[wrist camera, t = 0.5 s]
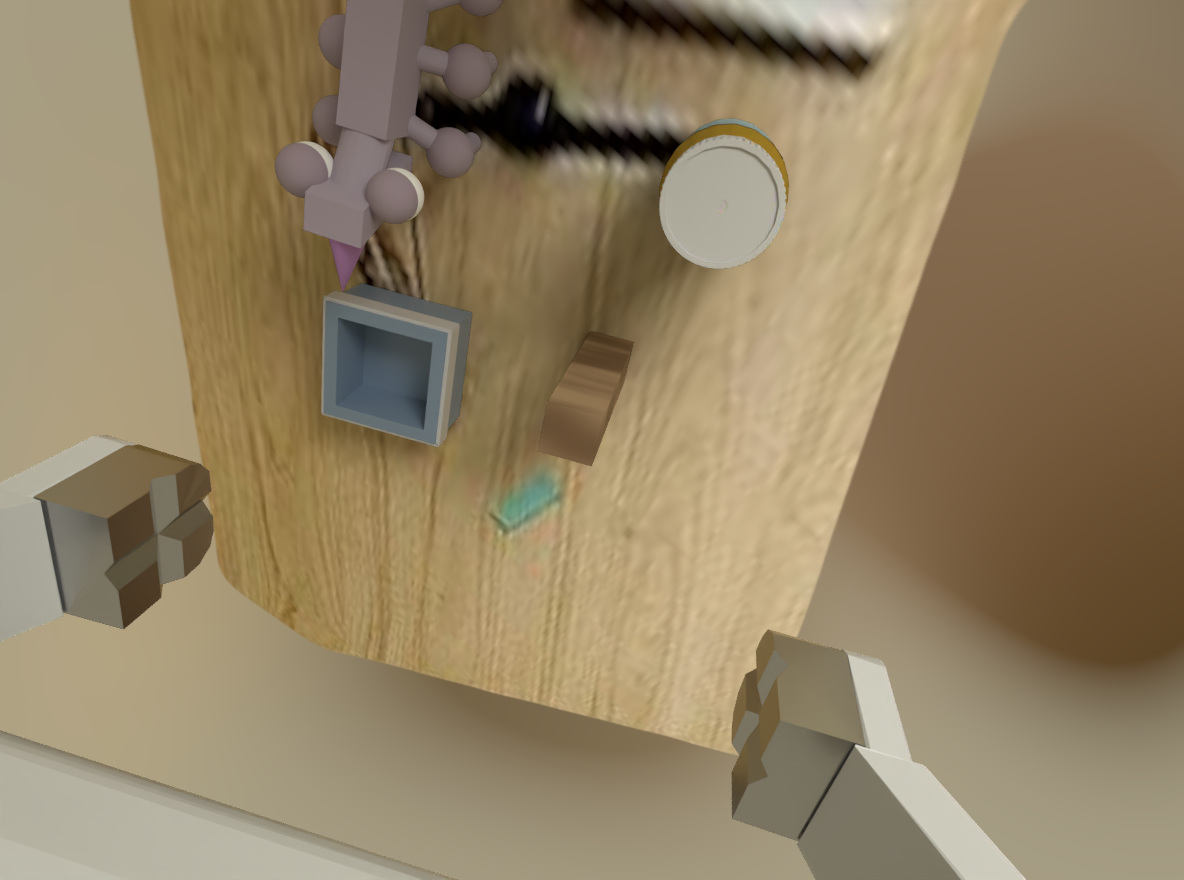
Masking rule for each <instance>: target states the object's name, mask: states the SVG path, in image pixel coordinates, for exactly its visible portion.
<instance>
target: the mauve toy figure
mask: <svg viewBox="0 0 1184 880" xmlns="http://www.w3.org/2000/svg"><path fill="white" fill-rule="evenodd" d="M501 3H502V0H347V8H346V15H344V14H336V15H333V16H330V17H329V18H327V19H326V20H325V21H324V22H323V23H322V25H321V27H320V30H319V35H318V40H319V46H320V49H321V51H322V53H323V55H324V57H325V58H326V60H327V61H328V62H329V63H330V64H332V65H333V66H334V67H336V68H338V69H341V73H340V84H339V95H329V96H326V97H323V98H322V99H320V100H319V101H318V102H317V103H316V105H315V107H314V109H313V114H312V121H313V125H314V128H315V130H316V132H317V133H318V135H319V136H320V137H321V138H322V139H323V140H324V141H325V142H327V143H329V144H331V145H334V146H338V147H337V150H336V154H335V157H334V160H333V158H332V156H331V155H330V154H329V152H328V151H327V150H326V149H324V148H323V147H322V146H320V145H318V144H316V143H313V142H308V141H301V142H297V143H292V144H289V145H287V146H285V147H284V148H283V149H282V150H281V151H280V152H279V154H278V155H277V158H276V161H275V172H276V175H277V178H278V180H279V182H280V184H281V185H282V186H283V187H284V188H285V189H286V190H287V191H288V192H289V193H291V194H293V195H295V196H297V197H301V198H305V206H304V230H305V231H308V232H311V233H314V234H317V235H320V236H323V237H327V238H329V240H330V244H331V248H332V252H333V256H334V260H335V264H336V268H337V272H338V276H339V280H340V284H341V288H342V292H343V291H344V289H345V287H346V285H347V282H348V280H349V278H350V276H351V274H352V272H353V270H354V267H355V265H356V263H357V261H358V259H359V257H360V254H361V252H362V250H363V248H364V246H365V244H366V242H367V240H368V239H369V238H370V237H371V236H372V235H373V233H374V232H375V231H376V230H377V229H378V228H379V226H380V225H381V224H382V223H383V222H384V221H385V222H387V223H391V224H399V223H403V222H406V221H408V220H411V219H413V218H414V217H415V216H417V215H418V214H419V212H420V211H421V209H422V207H423V203H424V191H423V188H422V185H421V183H420V181H419V180H418V179H417V178H416V177H415V175H413V174H412V173H411V172H412V163H413V157H412V156H409V155H406V154H403V153H399V152H396V151H393V150H392V149H393V146H394V142H395V139H397V138H402V137H408V138H409V139H411V140H412V141H414V142H415V143H417V144H418V145H420V146H421V147H423V148H425V149H426V155H427V159H428V162H429V164H430V166H431V167H432V168H433V170H434V171H436V172H437V173H438V174H440V175H441V176H444V177H447V178H456V177H460V176H462V175H464V174H465V173H466V172H467V171H468V170H469V169H470V167H471V165H472V163H473V159H474V153H476V152H477V151H478V150H479V149H480V147H481V140H480V138H479V137H478V135H476V134H475V133H472V132H469V133H466V134H464V133H463V132H462V131H460V130H458V129H456V128H451V127H445V128H441V129H439V130H436V129H434V128H433V127H431V126H430V125H428V124H427V123H425V122H424V121H423V120H421V119H420V118H418V117H417V116H415V111H416V104H417V97H418V90H419V83H420V76H421V70H422V71H426V72H429V73H432V74H436V75H439V76H442V78H443V81H444V83H445V85H446V87H447V88H448V89H449V90H450V91H451V92H452V93H453V94H454V95H455V96H457V97H459V98H462V99H475V98H477V97H479V96H481V95H482V94H483V93H484V92H485V91H486V90H487V88H488V87H489V84H490V81H491V74H492V73H494V72H495V71H496V69H497V65H498V63H497V59H496V57H495V55H494V54H492V53H491V52H488V51H485V52H482V51H481V50H480V49H479V48H477V47H476V46H474V45H471V44H467V43H462V44H457V45H455V46H453V47H451V48H450V49H449V50H448V51H447V52H446V51H443V50H439V49H436V48H433V47H430V46H426V45H425V41H426V34H427V27H428V20H429V13H430V12H432V11H435V10H439V9H442V8H446V7H449V6H452V5H456V4H460V6H461V7H462V8H463V9H464V10H465V11H467V12H468V13H470V14H472V15H475V16H487V15H489V14H492V13H493V12H495V11H496V10H497V9H498V8H499V6H500V5H501ZM476 156H477V155H476Z"/></svg>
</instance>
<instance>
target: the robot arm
mask: <svg viewBox="0 0 1184 880" xmlns="http://www.w3.org/2000/svg"><path fill="white" fill-rule="evenodd" d="M210 492H211V483H210V474H209V471H208V470H207V469H206V468H205V467H204V466H202V465H201V464H199V463H196V462H193V461H189V460H186V459H183V458H180V457H177V456H174V455H170V454H167V453H164V452H161V451H158V450H155V449H151V448H148V447H145V446H142V445H136V444H134V443H131V442H127V441H124V440H121V439H118V438H115V437H111V436H108V435H103V436H102V435H99V436H92V437H90V438H88V439H86V440H84V441H82V442H80V443H78V444H76V445H74V446H72V447H70V448H68V449H66V450H64V451H62V452H60V453H58V454H57V455H54V456H52V457H51V458H48V459H46V460H44V461H42V462H40V463H39V464H36V465H35V466H32V467H30V468H29V469H27V470H25V471H23V472H21V473H19V474H17V475H15V476H13V477H11V478H9V479H7V480H5V481H3V482H1V483H0V641H2V640H5V639H7V638H10V637H13V636H15V635H17V634H20V633H23V632H25V631H28V630H30V629H32V628H35V627H37V626H40V625H42V624H45V623H47V622H50V621H52V620H55V619H57V618H60V617H62V616H63V613H67V614H70V615H74V616H77V617H81V618H84V619H88V620H92V621H95V622H99V623H102V624H106V625H110V626H113V627H117V628H120V629H125V628H126V627H127V626H128V625H130V624H131V623H132V622H133V621H134V620H135V619H137V618H138V617H139V616H140V615H141V614H142V613H144V612H145V611H146V610H147V609H148V608H150V606H152V605H153V604H154V603H155V602H157V601H158V600H159V599H160V598H161V595H162V586H163V584H166V583H169V582H171V581H175V580H178V579H181V578H184V577H186V576H187V575H188V574H189V573H190V572H191V571H192V570H193V569H195V567H197V566H198V565H199V564H200V562H201V561H202V559H203V557H204V555H205V553H206V552H207V550H208V549H209V547H210V544H211V540H212V535H213V531H214V529H213V516H212V514H211V513H210V511H209V510H208V508H207V507H206V505H205V504H204V502H203V501H202V500H203V499H204V498H205V497H206V496H207V495H208V494H209V493H210ZM756 664H757V668H756V669H755V670H753V671H751V672H749V673H747V674H746V675H745V677H744V680H743V682H742V685H741V687H740V690H739V692H738V696H737V700H736V704H735V708H734V713H733V722H732V745H733V746H734V748H735V749H736V751H737V752H738V754H739V757H738V759H737V762H736V764H735V766H734V768H733V770H732V819H734V820H737V821H740V822H743V823H746V824H749V825H752V826H755V827H758V828H761V829H764V830H767V831H770V832H773V833H776V834H778V835H781V836H784V837H787V838H791V839H793V840H796V841H799V842H798V844H797V845H798V847H799V849H800V851H801V853H802V855H803V857H804V858H805V860H806V862H807V864H808V866H809V868H810V870H811V872H812V874H813V875H814V877H815V879H816V880H1026V879H1025V878H1024V877H1023V876H1022V875H1021V873H1020V872H1019V871H1018V870H1017V869H1016V868H1015V867H1014V866H1013V865H1012V863H1011V862H1010V861H1009V860H1008V859H1007V858H1006V857H1005V856H1004V854H1003V853H1002V852H1001V851H1000V850H999V849H998V848H997V846H996V845H995V844H994V843H993V842H992V841H991V840H990V839H989V838H988V836H987V835H986V834H985V833H984V832H983V831H982V830H981V829H980V827H978V825H977V824H976V823H975V822H974V821H973V820H972V818H971V817H969V815H968V814H967V813H966V812H965V811H964V809H963V808H962V807H961V806H960V805H959V804H958V803H957V802H956V800H955V799H954V798H953V797H952V796H951V795H950V794H949V793H948V791H947V790H946V789H945V788H944V787H943V786H942V785H941V784H940V783H939V781H938V780H937V779H936V778H935V777H934V776H933V775H932V774H931V773H930V772H929V770H928V769H927V768H926V767H925V766H924V765H921V764H918V763H915V762H912V758H911V755H910V751H909V748H908V745H907V741H906V737H905V734H904V730H903V727H902V723H901V720H900V716H899V713H898V709H897V706H896V702H895V699H894V695H893V692H892V688H891V685H890V681H889V678H888V675H887V671H886V667H885V665H884V664H883V663H882V662H881V660H880V659H877V658H873V657H869V656H865V655H862V654H858V653H854V652H850V651H846V650H838V649H835V648H832V647H828V646H825V645H821V644H818V643H814V642H810V641H807V640H804V639H800V638H797V637H793V636H790V635H786V634H783V633H779V632H776V631H772V630H769V629H768V630H767V631H766V633H765V634H764V635H763V637H762V639H761V641H760V643H759V645H758V647H757V650H756ZM0 880H456V879H453V878H450V877H447V876H444V875H441V874H438V873H435V872H432V871H429V870H425V869H423V868H420V867H416V866H413V865H410V864H407V863H404V862H401V861H398V860H395V859H391V858H388V857H386V856H382V855H379V854H376V853H373V852H370V851H367V850H364V849H361V848H358V847H355V846H352V845H349V844H346V843H343V842H340V841H336V840H334V839H331V838H328V837H325V836H321V835H318V834H315V833H312V832H309V831H306V830H303V829H300V828H297V827H294V826H291V825H288V824H284V823H282V822H279V821H276V820H272V819H269V818H267V817H263V816H260V815H257V814H254V813H251V812H248V811H245V810H242V809H239V808H236V807H233V806H230V805H227V804H224V803H221V802H218V801H215V800H212V799H209V798H205V797H202V796H199V795H196V794H193V793H190V792H187V791H184V790H181V789H178V788H175V787H172V786H169V785H166V784H162V783H160V782H156V781H154V780H151V779H147V778H144V777H141V776H138V775H135V774H132V773H129V772H126V771H123V770H120V769H117V768H114V767H111V766H107V765H105V764H102V763H99V762H96V761H92V760H89V759H86V758H83V757H80V756H77V755H74V754H71V753H68V752H65V751H62V750H59V749H56V748H52V747H50V746H47V745H43V744H40V743H37V742H34V741H31V740H28V739H25V738H22V737H19V736H16V735H13V734H10V733H7V732H3V731H0Z"/></svg>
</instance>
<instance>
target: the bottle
mask: <svg viewBox="0 0 1184 880" xmlns="http://www.w3.org/2000/svg"><path fill="white" fill-rule="evenodd" d="M788 188H789V181H788V175H787V171H786V167H785V163H784V161H783V158H782V156H781V155H780V153H779V152H778V150H777V149H776V147H775V146H774V144H773V143H772V142H771V140H770V139H769V138H768V136H767V135H766V134H765V133H764V132H763V131H761V130H760V129H759V128H757V127H756V126H755V125H753V124H751V123H749V122H746V121H742V120H739V119H719V120H715V121H713V122H710V123H708V124H705V125H703V126H701V127H700V128H698V129H697V130H696V131H695V132H694V133H692V134H691V135H690V136H689V138H687V139H685V140H684V141H683V142H682V143H681V144H680V145H679V146H678V147H677V148H676V150H675V151H674V153H673V154H672V156H671V157H670V159H669V161H668V162H667V164H666V166H665V169H664V173H663V176H662V179H661V183H660V198H659V202H660V205H659V209H660V212H659V215H660V222H661V224H662V229H663V230H664V234H665V236H666V237H667V240H668V241H669V242H670V243H671V246H672V247H674V249H675V250H676V251H677V252H678V253H679V254H680V255H681V256H683V257H684V258H686V260H689V261H690V262H692V263H694V264H697V265H699V266H703V267H706V268H711V269H713V268H715V269H723V268H724V269H726V268H732V267H735V266H739V265H741V264H744V263H747V262H748V261H750V260H752V259H753V258H755V257H756V256H758V255H759V254H760V253H761V252H763V251H764V250H765V248H766V247H768V246H769V245H770V243H771V241H773V240H774V237H775V235H777V233H778V230H779V228H780V227H781V223H782V221H783V219H784V218H783V216H784V214H785V208H786V205H787V201H788Z"/></svg>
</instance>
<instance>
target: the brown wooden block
mask: <svg viewBox="0 0 1184 880" xmlns="http://www.w3.org/2000/svg"><path fill="white" fill-rule="evenodd" d="M633 344H634V342H630V341H627V340H623V339H619V338H615V337H612V336H608V335H604V334H600V333H596V332H593V331H590V333H589V334H588V336H587V338H586V339H585V341H584V343H583V344H582V346H581V347H580V349H579V351H578V352H577V354H576V356H575V357H574V359H573V361H572V362H571V364H570V365H569V367H568V369H567V370H566V372H565V374H564V375H563V377H562V379H561V380H560V382H559V383H558V385H557V387H556V388H555V390H554V392H553V393H552V395H551V397H550V398H549V400H548V401H547V406H546V411H545V416H544V422H543V427H542V432H541V437H540V442H539V447H538V451H539V452H542V453H546V454H550V455H553V456H557V457H560V458H564V459H568V460H571V461H575V462H578V463H582V464H586V465H589V466H592V464H593V461H594V459H595V456H596V454H597V451H598V448H599V446H600V443H601V441H602V438H603V435H604V433H605V430H606V428H607V425H608V422H609V420H610V417H611V415H612V412H613V409H614V407H615V404H616V402H617V399H618V396H619V394H620V391H621V389H622V386H623V383H624V380H625V376H626V372H627V368H628V364H629V360H630V356H631V352H632V348H633Z"/></svg>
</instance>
